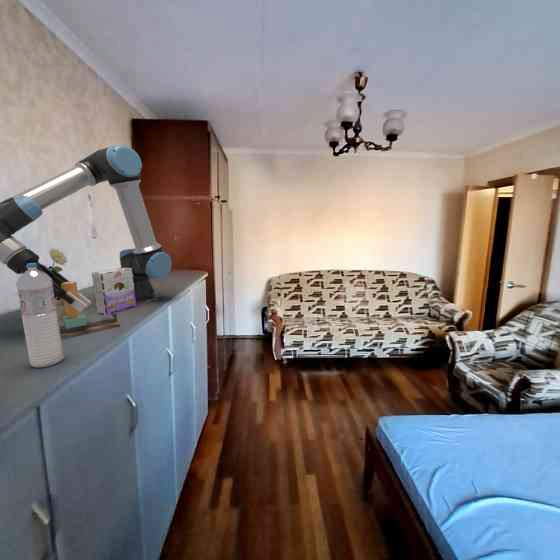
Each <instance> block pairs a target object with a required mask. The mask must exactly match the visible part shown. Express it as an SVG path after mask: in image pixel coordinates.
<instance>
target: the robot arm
mask: <svg viewBox="0 0 560 560" xmlns="http://www.w3.org/2000/svg"><path fill="white" fill-rule="evenodd" d="M142 162H143V161H142V160H141V157H140V156H139V154H138V152H137V151H135V149H133V148H132V147H130V146H128V145H125V144H114V145H111V146H108V147H105V148H102V149H101V148H100V149H98V150H96V151H94V152H93V153H90V154H89V155H88V156H86V157H85V158H83V159H81V160H79V161H77V162H75V163H74V166H73V167H72V168H69V169H67V170H66V171H63V172H61V173H58V174H57V175H55V176H53V177H51V178H49V179H47V180H45V181H44V180H43V181H42V182H40V183H37V184H36V185H34V186H32V187H29V188H28V189H25V190H23V191H22V192H19V193H16V194H15V195H13V196H11V197H9V198H7V199H4V200H2V201H1V202H0V263H1V264H3V265H5V266H6V268H8V269H9V270H10V271H12V272H14V273H15V274H16V275H22V274H23V273H24V272H26V271H27V270H28V268H27V264H29V263H37V269H38V270H40V271H42V272H44V273H46V274H47V275H48V276H49V277H50V278H51V279H52V281H53V285H52V286H53V292H54V298H55V299H56V298H57V297H58V298H57V299H56V300H60V299H63V300H64V301H65V302H67V303H68V304H69V305H71V306H72V307H74V308H75V309H76V310H78V311H79V312H81V311H82V310H84V309H87V308H88V307H89V305H91V304H92V301H90V300H89V299H88V298H87V297H86V296H84V295H83V294H81V293H80V292H78V297H79V299H78V298H77V297H75V296H74V295H72V294H71V293H70V292H67V293H66V291H65V290H63V289H62V287H61V284H62V283H65V282H71V281H70V280H68V279H67V278H66V277H64V276H63V275H62V274H61V273H59V272H57V271H56V270H55V269H54V267H53V265H50V266H49V267H47V266H46V265H44V264H42V263H40V262H39V260H40V256H39V255H38V254H37V253H35V252H34V251H33V250H31V249H30V248H28V247H27V246H26V245H25V244H24V243H22V242H21V241H20V240H18V239H17V238H15V237H14V236H13V235H15V234H16V233H17V232H19V231H20V230H22V229H24V228H25V227H26V226H28V225H29V224H31V223H33V222H35V221H37V219H39V218H40V217H42V215H43V213H44V211H43V210H44V209H45V208H48V207H50V206H52V205H54V204H56V203H58V202H60V201H61V200H63V199H65V198H67V197H69V196H70V195H73V194H74V193H77V192H78V191H81V190H82V189H84V188H86V187H88V186H90V187H94V186H96V185H98V184H100V183H103V182H108V185H109V186H110V187H112V188H113V189H114V190H115V192H116V195H117V198H118V202H119V204H120V206H121V209H122V212H123V215H124V217H125V221H126V224H127V226H128V229H129V233H130V235H131V237H132V241H133V244H134V248H130V249H129V248H127V249H122V250H121V251H120V252H119V261H120V262H119V264H120V268H132V271H133V280H134V288H135V297H136V302H139V301H145V300H146V301H147V300H150V299H153V298H155V297H156V291H155V288H154V285H153V284H152V282H151V279H152V280H159V279H162V278H165V277H167V276H168V274H169V273H170V271H171V269H172V266H173V265H172V258H171V257H170V255H169V254H168V253H166V252H164V250H163V247H162V244H160V243H159V242H157V240H156V236H155V234H154V231H153V227H152V223H151V221H150V218H149V214H148V212H147V208H146V205H145V202H144V199H143V198H144V197H143V195H142V192H141V188H140V183H141V181H142V179H141V175H140V173H141V172H142V169H143V164H142Z"/></svg>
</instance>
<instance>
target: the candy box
mask: <svg viewBox="0 0 560 560" xmlns="http://www.w3.org/2000/svg"><path fill="white" fill-rule="evenodd" d="M91 275H92V276H91V277H92V283H93V284H92V285H93V291H94V299H95V300H94V301H95V307H96V314H100V315H104V316H108V315H111V314H112V313H113V312H115V313H117V312H121V311H124V310H127V309H130V308H135V307H137V301H136V297H135V288H134V280H133V271H132V268H121V267H119V268H114V269H108V270H107V269H106V270H101V271H95V272H92V273H91Z"/></svg>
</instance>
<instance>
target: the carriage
mask: <svg viewBox="0 0 560 560" xmlns="http://www.w3.org/2000/svg"><path fill="white" fill-rule="evenodd" d="M61 287H62V289H63V290H65V291H66V293H67V292H70V293H71V294H72V295H74V296H75V297H77V298H78V299H79V297H78V293H79V292H78V291H79V290H78V283H77V281H70V282H65V283H62V284H61ZM64 307H65V314H66V315H65V316H62V320H63V324H64V326H65V328H66V329H68V328H73V327H78V326H83V325H87V323H86V322H87V316H85V314H84V313H83V314H82V313H81V312H79V311H78V310H76V309H75V308H74V307H72V306H71V305H69V304H68V303H67V302H65V301H64Z"/></svg>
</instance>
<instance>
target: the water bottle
mask: <svg viewBox="0 0 560 560" xmlns="http://www.w3.org/2000/svg"><path fill="white" fill-rule="evenodd" d="M27 268H28V270H27V271H26V272H24V273H22V274H20V276H19V277H18V279H17V280H16V283H15V286H16V290H17V294H18V300H19V305H20V310H21V318H22V319H21V321H22V326H23V330H24V331H23V332H24V337H25V338H24V339H25V344H26V348H27V355H28V360H29V364H30V366H31V367H32V368H35V369H37V368H39V369H41V368H46V367H47V368H48V367H51V366H55V365H57V364H59V363H60V362H62V361H63V360H64V354H65V353H64V349H63V348H64V347H63V341H62V339H61V334H60V328H59V321H58V314H57V310H56V305H55V298H54V292H53V286H52V285H53V281H52V279H51V278H50V277H49V276H48V275H47V274H46V273H44V272H42V271H40V270H38V269H37V263H29V264H27Z"/></svg>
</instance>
